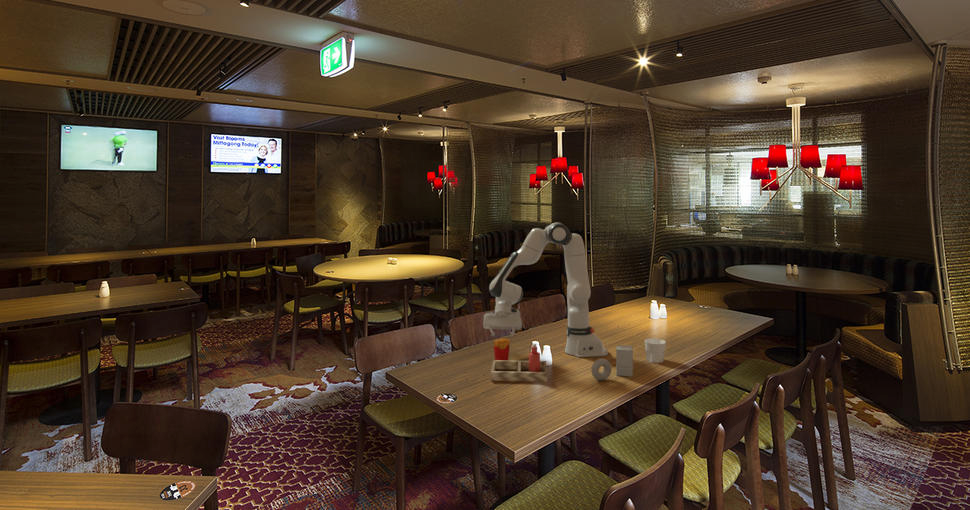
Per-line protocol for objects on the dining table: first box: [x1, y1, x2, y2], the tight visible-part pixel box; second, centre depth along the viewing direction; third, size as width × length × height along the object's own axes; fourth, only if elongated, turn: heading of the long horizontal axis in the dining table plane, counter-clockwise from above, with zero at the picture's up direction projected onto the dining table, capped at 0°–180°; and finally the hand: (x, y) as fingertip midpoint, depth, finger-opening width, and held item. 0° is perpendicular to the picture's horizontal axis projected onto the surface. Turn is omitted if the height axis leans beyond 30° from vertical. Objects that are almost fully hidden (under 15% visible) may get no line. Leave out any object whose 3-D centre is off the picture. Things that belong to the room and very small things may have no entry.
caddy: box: [490, 359, 549, 383], centre depth 221 cm, size 26×16×4 cm, turn 85°
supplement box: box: [615, 344, 634, 378], centre depth 221 cm, size 7×7×13 cm
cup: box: [644, 337, 666, 364], centre depth 239 cm, size 10×10×10 cm
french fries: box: [493, 337, 511, 360], centre depth 239 cm, size 8×4×12 cm, turn 110°
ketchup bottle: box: [528, 343, 541, 372], centre depth 218 cm, size 5×5×15 cm
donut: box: [590, 358, 612, 381], centre depth 213 cm, size 10×4×10 cm, turn 110°
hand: (502, 335), depth 244 cm, fingers open, 8 cm apart
